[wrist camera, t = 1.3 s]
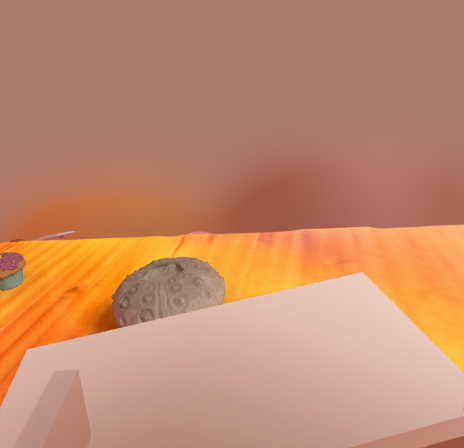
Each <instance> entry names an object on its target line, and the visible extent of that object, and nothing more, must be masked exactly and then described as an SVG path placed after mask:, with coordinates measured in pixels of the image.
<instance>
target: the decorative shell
mask: <svg viewBox="0 0 464 448" xmlns="http://www.w3.org/2000/svg"><path fill="white" fill-rule="evenodd" d="M224 296H225V285H224V278H223V277H221V276H220V274H219V273H218V272H217V271H216V270H214V269H213V268H212V267H211V266H210V265H209V264H208V262H206V263H205V262H203V261H201V260H198V259H197V258H189V257H178V258H164V259H159V260H157V261H156V260H155V261H152V262H151V263H150V264H147V265H146V266H145V267H142V268H140V269H139V270H137V271H136V270H135V271H134V273H132V274H131V275H127V277H126V278H125V279H124V280H123V281H122V282H121V284H120V285H119V287H118V288H117V290H116V292H115V294H114V295H112V299H113V303H112V311H113V316H114V319H115V323H116V324H117V326H118V328H123V327H127V326H131V325H136V324H140V323H144V322H148V321H153V320H157V319H161V318H166V317H170V316H174V315H179V314H183V313H187V312H192V311H196V310H200V309H205V308H209V307H213V306H218V305H222V303H223V300H224Z"/></svg>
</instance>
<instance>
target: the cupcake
mask: <svg viewBox="0 0 464 448" xmlns="http://www.w3.org/2000/svg"><path fill="white" fill-rule="evenodd" d="M25 264H26V262H25V260H24V258H23V256H22V255H20V254H18V253H15V252H13V253H11V252H10V253H8V252H5V253H0V289H1V290H8V289H12V288H14V287H16V286H18V285H20V284H21V283H22V282H23V267H24V265H25Z"/></svg>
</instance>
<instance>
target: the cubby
mask: <svg viewBox="0 0 464 448" xmlns="http://www.w3.org/2000/svg"><path fill="white" fill-rule="evenodd" d="M66 370H79V375H80V380H81V385H82V390H83V395H84V400H85V405H86V410H87V415H88V420H89V425H90V430H91V438H90V441H89V444H88V447H87V448H464V411H463V408H464V373H463V372H462V371H461V370H460V369H459V368H458V367H457V366H456V365H455V364H454V363H453V362H452V361H451V360H450V359H449V358H448V357H447V356H446V355H445V354H444V353H443V352H442V351H441V350H440V349H439V348H438V347H437V346H436V345H435V344H434V343H433V342H432V341H431V340H430V339H429V338H428V337H427V336H426V335H425V334H424V333H423V332H422V331H421V330H420V329H419V328H418V327H417V326H416V325H415V324H414V323H413V322H412V321H411V320H410V319H409V318H408V317H407V316H406V315H405V314H404V313H403V312H402V311H401V310H400V309H399V308H398V307H397V306H396V305H395V304H394V303H393V302H392V301H391V300H390V299H389V298H388V297H387V296H386V295H385V294H384V293H383V292H382V291H381V290H380V289H379V288H378V287H377V286H376V285H375V284H374V283H373V282H372V281H371V280H370V279H369V278H368V277H367V276H366V275H365V274H364V273H363V272H361V273H356V274H352V275H348V276H343V277H339V278H335V279H330V280H326V281H322V282H317V283H313V284H309V285H304V286H300V287H296V288H291V289H287V290H283V291H278V292H274V293H270V294H265V295H261V296H257V297H252V298H248V299H244V300H239V301H235V302H231V303H226V304H222V305H218V306H213V307H209V308H205V309H200V310H196V311H192V312H187V313H183V314H179V315H174V316H170V317H166V318H161V319H157V320H153V321H148V322H144V323H140V324H136V325H131V326H127V327H123V328H118V329H114V330H110V331H105V332H101V333H97V334H92V335H88V336H84V337H79V338H75V339H71V340H66V341H62V342H58V343H53V344H49V345H45V346H40V347H36V348H32V349H27V351H26V353H25V355H24V358H23V360H22V362H21V364H20V366H19V368H18V370H17V373H16V375H15V377H14V379H13V381H12V383H11V386H10V388H9V390H8V392H7V394H6V396H5V398H4V401H3V403H2V405H1V407H0V448H13V447H14V445H15V443H16V442H17V440H18V438H19V436H20V434H21V432H22V430H23V429H24V427H25V425H26V423H27V421H28V419H29V417H30V416H31V414H32V412H33V410H34V408H35V406H36V404H37V403H38V401H39V399H40V397H41V395H42V393H43V391H44V390H45V388H46V386H47V384H48V382H49V380H50V378H51V377H52V375H53V373H54V371H66Z"/></svg>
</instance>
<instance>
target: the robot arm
mask: <svg viewBox="0 0 464 448" xmlns="http://www.w3.org/2000/svg"><path fill="white" fill-rule="evenodd" d="M463 411H464V408H463ZM90 438H91V430H90V425H89V420H88V415H87V410H86V405H85V400H84V395H83V390H82V385H81V380H80V375H79V370H66V371H54V373H53V375H52V377H51V378H50V380H49V382H48V384H47V386H46V388H45V390H44V391H43V393H42V395H41V397H40V399H39V401H38V403H37V404H36V406H35V408H34V410H33V412H32V414H31V416H30V417H29V419H28V421H27V423H26V425H25V427H24V429H23V430H22V432H21V434H20V436H19V438H18V440H17V442H16V443H15V445H14V447H13V448H87V447H88V444H89V441H90Z"/></svg>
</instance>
